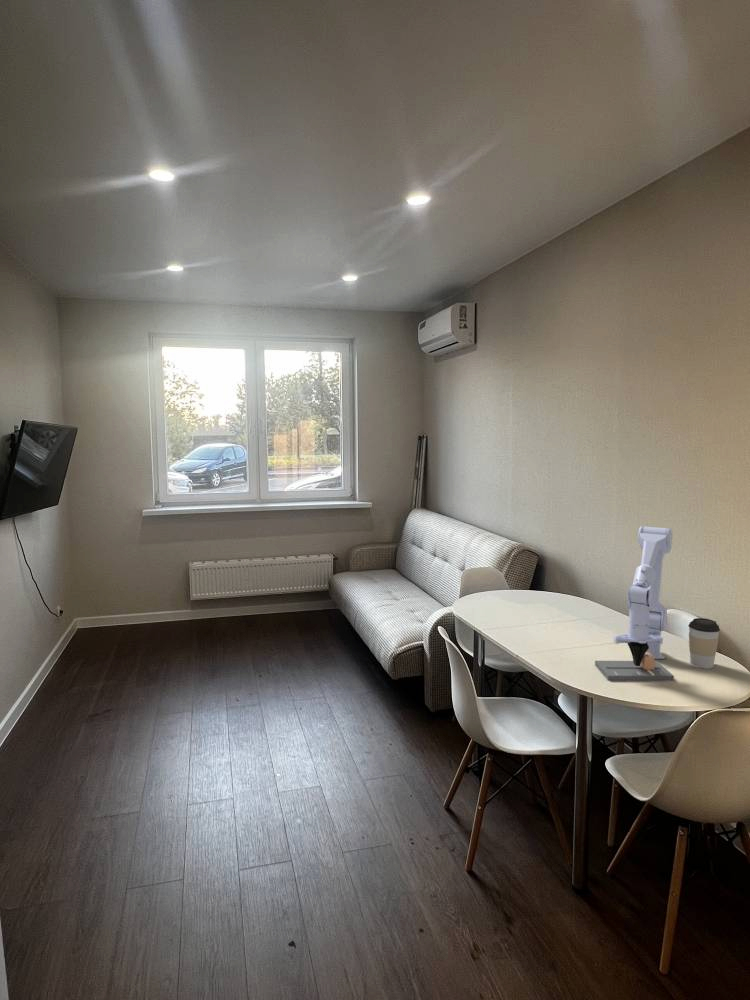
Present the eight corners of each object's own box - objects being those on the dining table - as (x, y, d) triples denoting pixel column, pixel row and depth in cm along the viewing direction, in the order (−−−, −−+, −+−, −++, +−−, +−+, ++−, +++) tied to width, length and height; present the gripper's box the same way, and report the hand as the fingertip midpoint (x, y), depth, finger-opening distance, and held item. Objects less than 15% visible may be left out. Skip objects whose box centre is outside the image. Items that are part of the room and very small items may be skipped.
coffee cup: (684, 666, 196) (687, 621, 194) (688, 657, 203) (690, 614, 201) (716, 672, 191) (719, 626, 189) (718, 662, 198) (721, 618, 196)
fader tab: (639, 664, 192) (639, 651, 192) (648, 664, 192) (649, 651, 192) (644, 669, 188) (645, 656, 188) (654, 669, 188) (654, 656, 188)
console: (595, 665, 197) (595, 660, 197) (656, 665, 196) (657, 660, 196) (608, 680, 185) (608, 675, 185) (673, 680, 184) (674, 675, 184)
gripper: (620, 627, 185) (618, 669, 187) (667, 627, 184) (665, 669, 186) (612, 620, 192) (610, 660, 194) (657, 620, 191) (655, 661, 193)
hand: (636, 664), depth 190 cm, fingers closed
